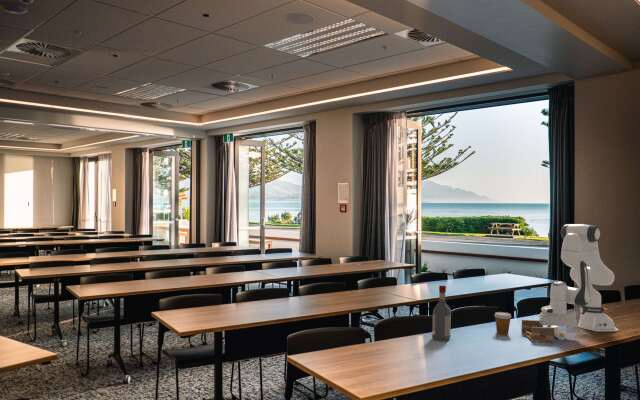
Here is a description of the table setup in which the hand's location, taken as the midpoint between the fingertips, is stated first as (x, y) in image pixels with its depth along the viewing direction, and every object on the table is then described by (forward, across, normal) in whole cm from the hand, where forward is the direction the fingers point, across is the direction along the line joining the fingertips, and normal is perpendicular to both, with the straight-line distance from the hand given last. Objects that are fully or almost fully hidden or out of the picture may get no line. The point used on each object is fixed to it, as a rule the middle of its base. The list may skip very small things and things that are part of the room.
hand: (557, 333), depth 289 cm
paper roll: (0, 0, 0) cm, 0 cm away
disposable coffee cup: (+3, +31, -2) cm, 31 cm away
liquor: (+3, +70, +16) cm, 72 cm away
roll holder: (+2, +13, +4) cm, 14 cm away
